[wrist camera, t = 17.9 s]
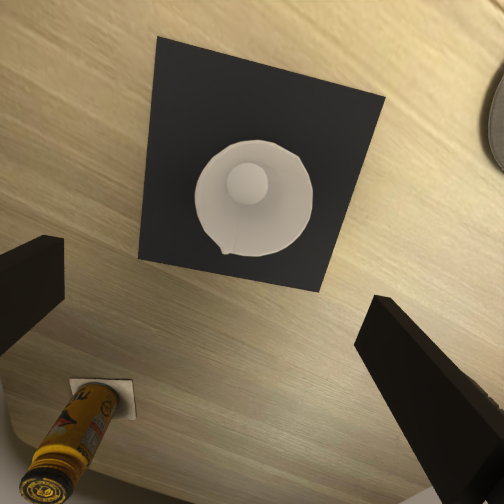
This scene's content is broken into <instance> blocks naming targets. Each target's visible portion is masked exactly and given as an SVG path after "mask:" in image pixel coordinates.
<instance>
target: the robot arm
mask: <svg viewBox="0 0 504 504" xmlns="http://www.w3.org/2000/svg"><path fill="white" fill-rule="evenodd" d="M64 299H65V286H64V238H59V237H53V236H48V235H42V236H40V237H37V238H35V239H33V240H31V241H29V242H27V243H25V244H23V245H20V246H18V247H16V248H14V249H12V250H10V251H8V252H6V253H3V254H1V255H0V356H1V355H2V354H3V353H5V352H6V351H7V350H8V349H9V348H10V347H11V346H12V345H13V344H15V343H16V342H17V341H18V340H19V339H20V338H21V337H22V336H24V335H25V334H26V333H27V332H28V331H29V330H30V329H31V328H33V327H34V326H35V325H36V324H37V323H38V322H39V321H40V320H41V319H43V318H44V317H45V316H46V315H47V314H48V313H49V312H50V311H52V310H53V309H54V308H55V307H56V306H57V305H58V304H59V303H61V302H62V301H63V300H64ZM354 346H355V348H356V350H357V351H358V353H359V355H360V357H361V359H362V360H363V362H364V364H365V366H366V368H367V369H368V371H369V373H370V375H371V376H372V378H373V380H374V382H375V384H376V385H377V387H378V389H379V391H380V393H381V394H382V396H383V398H384V400H385V402H386V403H387V405H388V407H389V409H390V410H391V412H392V414H393V416H394V418H395V419H396V421H397V423H398V425H399V427H400V428H401V430H402V432H403V434H404V436H405V437H406V439H407V441H408V443H409V445H410V446H411V448H412V450H413V452H414V453H415V455H416V457H417V459H418V461H419V462H420V464H421V466H422V468H423V470H424V471H425V473H426V475H427V477H428V479H429V480H430V482H431V484H432V486H433V487H434V489H435V491H436V493H437V495H438V496H439V498H440V500H441V502H442V504H483V502H484V501H485V500H486V501H487V502H488V504H504V410H503V409H499V405H498V404H497V403H496V402H495V401H494V400H493V399H492V398H491V397H488V394H487V393H486V392H485V391H484V390H483V389H482V388H481V387H480V386H479V385H478V384H477V383H476V382H475V381H474V380H473V379H471V378H470V377H469V376H467V375H466V374H465V373H463V372H462V371H461V370H460V369H459V368H458V367H457V366H456V365H455V364H454V363H453V362H452V361H451V360H450V359H449V358H448V357H447V356H446V355H445V354H444V353H443V352H442V351H441V350H440V348H439V347H438V346H437V345H436V344H435V343H434V342H433V341H432V340H431V339H430V338H429V337H428V336H427V335H426V334H425V333H424V332H423V331H422V330H421V329H420V328H419V327H418V326H417V325H416V324H415V323H414V321H413V320H412V319H411V318H410V317H409V316H408V315H407V314H406V313H405V312H404V311H403V310H402V309H401V308H400V307H399V306H398V305H397V304H396V303H395V302H394V301H393V300H392V299H391V298H390V297H384V296H379V295H374V297H373V300H372V302H371V305H370V307H369V309H368V312H367V314H366V317H365V319H364V322H363V324H362V326H361V329H360V331H359V334H358V336H357V338H356V341H355V343H354Z"/></svg>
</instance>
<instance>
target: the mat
mask: <svg viewBox="0 0 504 504" xmlns="http://www.w3.org/2000/svg"><path fill="white" fill-rule="evenodd" d="M385 98H386V97H384V96H380V95H376V94H373V93H369V92H365V91H361V90H358V89H354V88H350V87H346V86H343V85H339V84H335V83H331V82H328V81H324V80H320V79H316V78H313V77H309V76H305V75H301V74H298V73H294V72H290V71H286V70H283V69H279V68H275V67H271V66H268V65H264V64H260V63H256V62H253V61H249V60H245V59H241V58H238V57H234V56H230V55H226V54H223V53H219V52H215V51H211V50H208V49H204V48H200V47H196V46H193V45H189V44H185V43H181V42H178V41H174V40H170V39H166V38H163V37H159V36H157V44H156V56H155V67H154V79H153V90H152V102H151V113H150V125H149V136H148V148H147V159H146V170H145V182H144V193H143V205H142V216H141V228H140V239H139V251H138V259H141V260H147V261H152V262H157V263H163V264H168V265H173V266H179V267H184V268H190V269H195V270H200V271H206V272H211V273H216V274H222V275H227V276H232V277H238V278H243V279H248V280H254V281H259V282H265V283H270V284H275V285H281V286H286V287H291V288H297V289H302V290H307V291H313V292H318V293H319V290H320V287H321V284H322V282H323V279H324V276H325V273H326V270H327V267H328V264H329V261H330V258H331V255H332V252H333V249H334V247H335V244H336V241H337V238H338V235H339V232H340V229H341V226H342V223H343V220H344V217H345V214H346V212H347V209H348V206H349V203H350V200H351V197H352V194H353V191H354V188H355V185H356V182H357V179H358V177H359V174H360V171H361V168H362V165H363V162H364V159H365V156H366V153H367V150H368V147H369V144H370V142H371V139H372V136H373V133H374V130H375V127H376V124H377V121H378V118H379V115H380V112H381V109H382V107H383V104H384V101H385ZM251 140H262V141H267V142H272V143H275V144H277V145H279V146H280V147H282V148H284V149H286V150H288V151H289V152H291V153H293V154H295V155H297V156H298V157H299V158H300V160H301V162H302V164H303V166H304V167H305V169H306V171H307V173H308V175H309V178H310V182H311V185H312V189H313V198H312V210H311V215H310V219H309V221H308V223H307V225H306V227H305V229H304V230H303V232H302V233H301V235H300V236H299V237H298V238H297V239H296V240H295V241H294V242H293V243H291V244H290V245H289V246H287V247H286V248H284V249H282V250H280V251H278V252H275V253H271V254H267V255H263V256H259V257H258V256H242V255H237V254H232V253H229V254H226V255H225V254H222V251H221V248H220V247H219V246H218V245H217V244H216V243H215V242H214V241H213V240H212V238H211V237H210V236H209V235H208V234H207V233H206V232H205V231H204V229H203V227H202V225H201V222H200V220H199V218H198V216H197V210H196V205H195V190H196V185H197V181H198V179H199V177H200V175H201V173H202V171H203V169H204V168H205V167H206V165H207V164H208V162H209V161H210V160H211V159H212V157H214V156H215V155H217V154H218V153H219V152H221V151H222V150H224V149H225V148H227V147H228V146H230V145H232V144H235V143H238V142H242V141H251Z"/></svg>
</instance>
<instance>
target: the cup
mask: <svg viewBox="0 0 504 504" xmlns="http://www.w3.org/2000/svg"><path fill="white" fill-rule="evenodd" d="M312 198H313V189H312V185H311V182H310V178H309V175H308V173H307V171H306V169H305V167H304V166H303V164H302V162H301V160H300V158H299V157H298V156H297V155H295V154H293V153H291V152H289V151H288V150H286V149H284V148H282V147H280V146H279V145H277V144H275V143H272V142H267V141H262V140H251V141H242V142H238V143H235V144H232V145H230V146H228V147H227V148H225V149H224V150H222V151H221V152H219V153H218V154H217V155H215V156H214V157H212V159H211V160H210V161H209V162H208V164H207V165H206V167H205V168H204V169H203V171H202V173H201V175H200V177H199V179H198V181H197V185H196V190H195V205H196V210H197V216H198V218H199V220H200V222H201V225H202V227H203V229H204V231H205V232H206V233H207V234H208V235H209V236H210V237H211V238H212V240H213V241H214V242H215V243H216V244H217V245H218V246H219V247H220V248H221V251H222V254H225V255H226V254H229V253H232V254H237V255H242V256H258V257H259V256H263V255H267V254H271V253H275V252H278V251H280V250H282V249H284V248H286V247H287V246H289V245H290V244H291V243H293V242H294V241H295V240H296V239H297V238H298V237H299V236H300V235H301V233H302V232H303V230H304V229H305V227H306V225H307V223H308V221H309V219H310V215H311V210H312Z"/></svg>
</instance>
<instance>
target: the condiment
mask: <svg viewBox="0 0 504 504" xmlns="http://www.w3.org/2000/svg"><path fill="white" fill-rule="evenodd" d="M69 381H70V386H71V389H72V394H73V397H72V398H71V400H70V401H69V403H68V404H67V406H66V407H65V409H64V410H63V411H62V413H61V415H60V416H59V418H58V419H57V421H56V422H55V424H54V425H53V427H52V428H51V430H50V431H49V433H48V434H47V436H46V437H45V439H44V440H43V442H42V443H41V444H40V446H39V447H38V449H37V451H36V452H35V454H34V456H33V463H32V464H31V465H30V467H29V470H28V471H27V473H26V474H25V476H24V477H23V478H22V480H21V483H20V486H19V489H20V493H21V495H22V496H23V497H24V498H25V499H26V500H27V501H29V502H31V503H34V504H63V503H64V502H65V501H66V500H67V499H68V498H69V497H70V496H71V495H72V493H73V490H74V488H75V486H76V485H77V483H78V482H79V479H80V477H81V476H83V475H84V474H85V472H86V471H87V469H88V468H89V465H90V463H91V461H92V459H93V457H94V455H95V453H96V451H97V449H98V446H99V444H100V442H101V440H102V438H103V436H104V434H105V432H106V430H107V427H108V425H109V423H110V421H111V419H128V420H131V419H133V420H136V416H135V415H136V413H135V402H134V394H133V386H132V380H127V381H126V380H102V379H69Z"/></svg>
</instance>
